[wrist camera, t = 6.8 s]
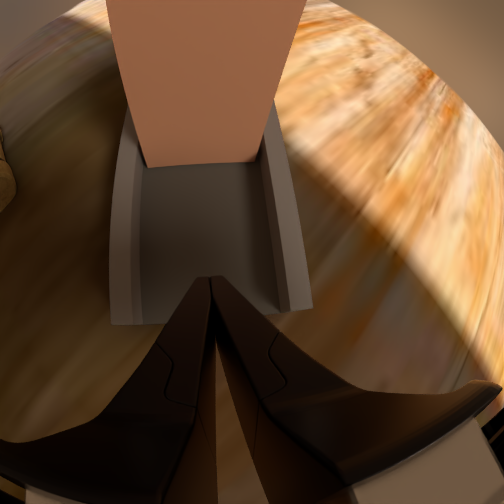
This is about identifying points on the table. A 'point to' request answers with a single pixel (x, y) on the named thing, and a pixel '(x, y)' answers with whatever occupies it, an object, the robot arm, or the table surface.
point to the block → (201, 73)
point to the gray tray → (204, 231)
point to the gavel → (5, 180)
